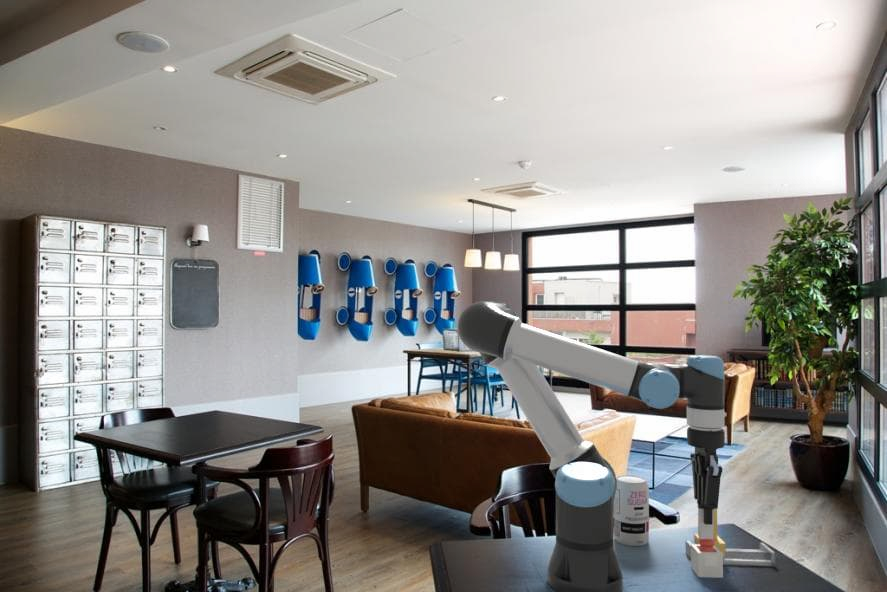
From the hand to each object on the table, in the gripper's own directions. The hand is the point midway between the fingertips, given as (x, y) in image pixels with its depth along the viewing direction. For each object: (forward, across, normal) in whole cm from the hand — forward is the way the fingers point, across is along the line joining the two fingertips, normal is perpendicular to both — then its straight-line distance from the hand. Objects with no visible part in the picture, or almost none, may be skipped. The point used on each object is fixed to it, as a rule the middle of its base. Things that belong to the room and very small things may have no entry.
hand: (705, 537), depth 134 cm
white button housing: (+7, 0, 0) cm, 7 cm away
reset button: (+5, 0, 0) cm, 5 cm away
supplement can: (+8, +18, +12) cm, 23 cm away
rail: (+7, +8, -8) cm, 13 cm away
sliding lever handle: (+6, +7, -3) cm, 10 cm away
